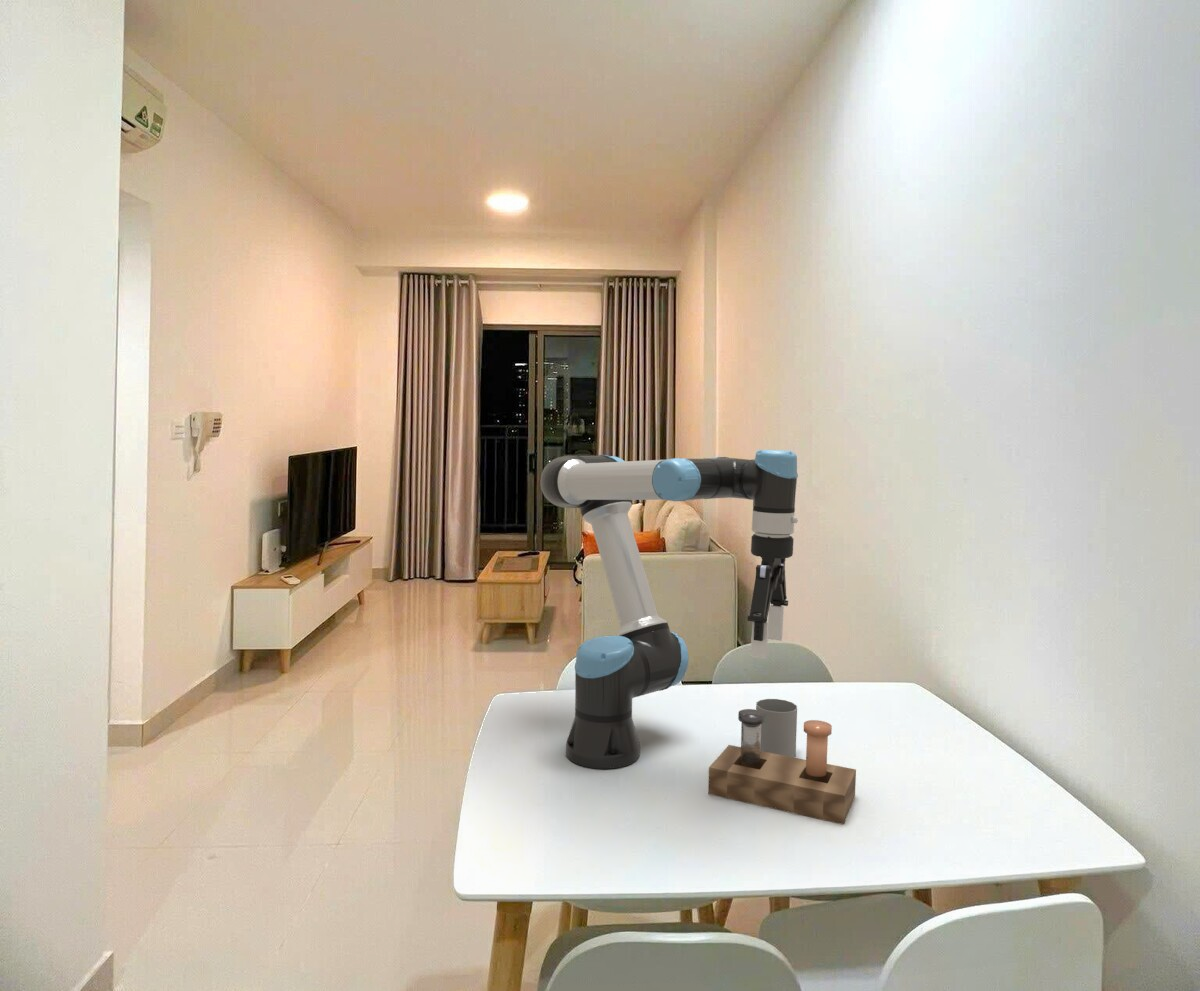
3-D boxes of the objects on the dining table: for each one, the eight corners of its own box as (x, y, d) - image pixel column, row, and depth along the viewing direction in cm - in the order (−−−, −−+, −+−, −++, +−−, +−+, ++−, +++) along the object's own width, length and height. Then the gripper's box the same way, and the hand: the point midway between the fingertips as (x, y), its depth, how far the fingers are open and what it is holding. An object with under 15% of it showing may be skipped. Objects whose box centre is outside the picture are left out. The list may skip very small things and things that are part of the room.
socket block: (708, 793, 144) (708, 767, 143) (728, 769, 154) (728, 744, 154) (843, 824, 133) (844, 795, 133) (855, 796, 144) (856, 769, 143)
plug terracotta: (799, 774, 140) (801, 726, 139) (805, 764, 144) (806, 718, 143) (827, 780, 137) (828, 731, 137) (832, 770, 142) (833, 723, 141)
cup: (796, 762, 158) (797, 714, 158) (754, 758, 160) (756, 710, 159) (794, 746, 167) (796, 700, 166) (755, 743, 168) (756, 697, 168)
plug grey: (734, 761, 145) (735, 715, 144) (741, 752, 149) (742, 707, 149) (759, 766, 143) (761, 719, 142) (766, 757, 147) (767, 711, 146)
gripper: (779, 545, 131) (772, 669, 133) (805, 528, 153) (799, 635, 155) (734, 541, 134) (729, 662, 136) (767, 525, 156) (761, 630, 158)
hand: (766, 648), depth 146 cm, fingers open, 13 cm apart
